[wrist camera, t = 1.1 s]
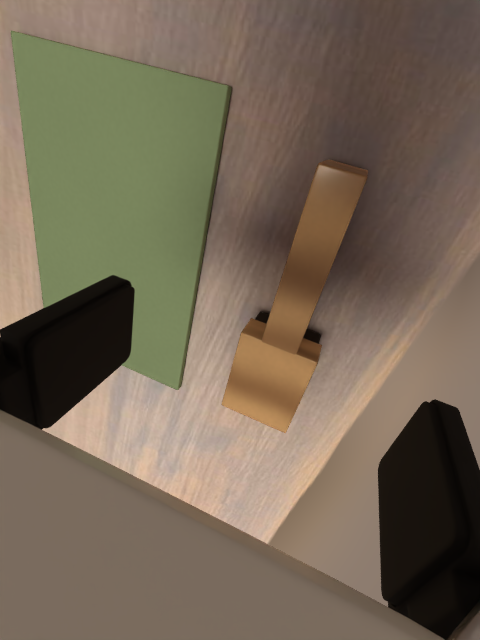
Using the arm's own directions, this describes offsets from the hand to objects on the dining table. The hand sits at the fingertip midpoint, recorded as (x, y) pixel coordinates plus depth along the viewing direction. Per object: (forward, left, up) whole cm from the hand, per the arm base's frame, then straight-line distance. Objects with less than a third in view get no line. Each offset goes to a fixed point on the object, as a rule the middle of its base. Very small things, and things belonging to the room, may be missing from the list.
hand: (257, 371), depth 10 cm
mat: (+4, -14, -12) cm, 19 cm away
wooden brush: (+4, 0, -12) cm, 12 cm away
